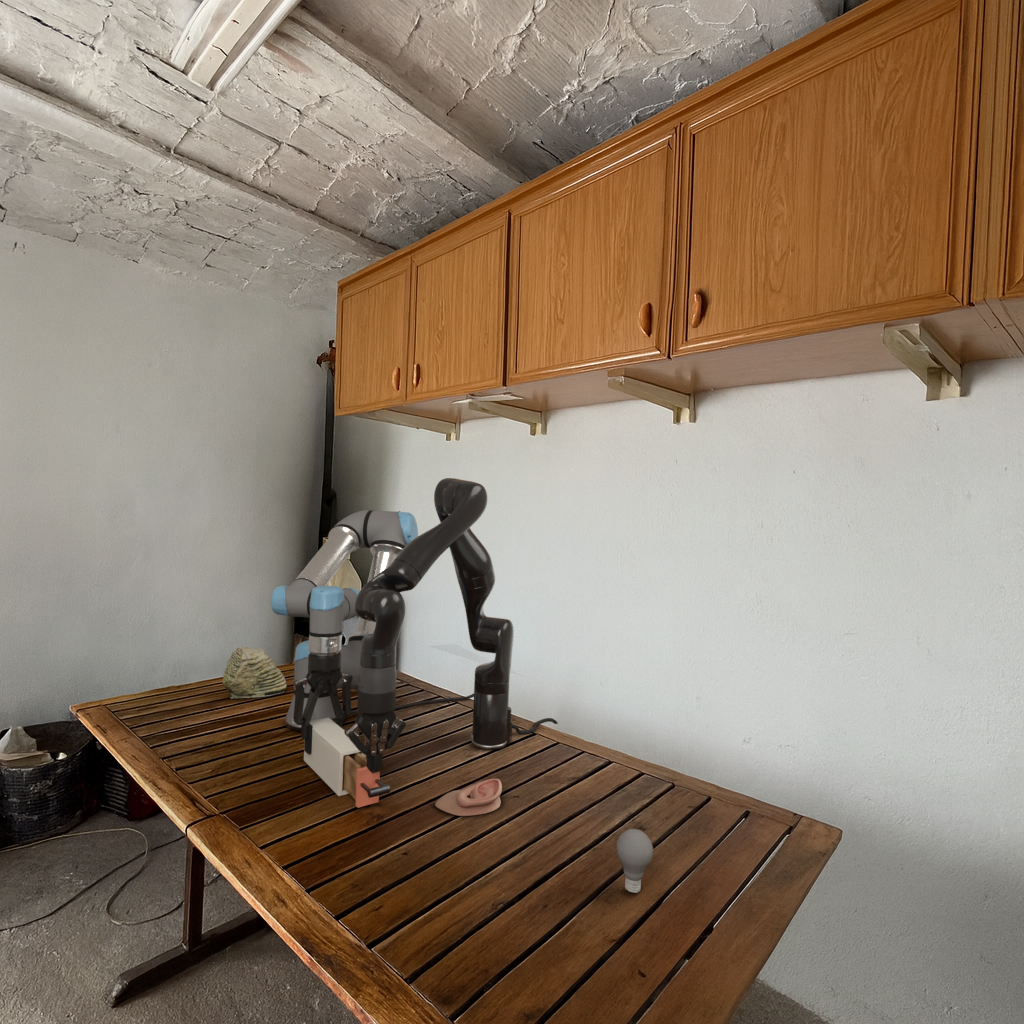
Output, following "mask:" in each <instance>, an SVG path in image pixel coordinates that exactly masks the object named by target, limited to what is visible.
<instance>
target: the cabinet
mask: <svg viewBox="0 0 1024 1024" xmlns="http://www.w3.org/2000/svg"><path fill="white" fill-rule="evenodd" d="M310 724H311V725H312V726H313V728H312V754H307V753H306V752H305V751H304V750H303V761H304V762H305V763H306V764H307V766H308V767H310V768H311V770H312V771H314V773H316V775H318V777H319V778H320V779H321V780H322V781H323V782H324V783H325V784H326V785H327V786H328V787H329V788H330V789H331V790H332V791H333V792H334V793H335V795H336V796H338V797H342V796H345V795H350V794H349V793H348V792H347V791H346V790H345V789H344V788H343V787H342V781H343V756H344V755H349V754H353V753H358V752H359V753H360V754H361V755H363V756H364V757H365V758H366V754H363V753H362V752H360V751H359V750H358V749H357V748H356V746H355V745H354V744H353V743H352V742H351V741H350V739H349V738H348V737H347V736H346V735H345V733H344V731H345V730H346V729H342V728H341V727H340V726H338V725H337V724H336V723H335V722H333V721H332V720H331V719H330V718H324V719H318V720H313V721H310ZM304 745H305V740H304V742H303V746H304Z"/></svg>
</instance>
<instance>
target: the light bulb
mask: <svg viewBox="0 0 1024 1024" xmlns="http://www.w3.org/2000/svg"><path fill="white" fill-rule="evenodd" d="M615 849H616V854H617V857H618V859H619V861H620V863H621V865H622V867H623V873H624V874H623V875H624V876H625V878H624V888H625V890H627V891H628V892H630V893H634V894H635V893H639V892H640V891H641V889H642V887H641V886H642V879H643V877H644V875H645V871H646V868H647V867H648V866H649V864H650V863H651V861H652V859H653V855H654V847H653V843H652V841H651V838H649V836H648V835H647V834H646V833H645V832H643V831H642V830H641V829H636V828H629V829H627V830H625V831H623V832H622V833H621V834H620V835H619V837H618V839H617V841H616V847H615Z"/></svg>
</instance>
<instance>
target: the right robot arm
mask: <svg viewBox="0 0 1024 1024" xmlns="http://www.w3.org/2000/svg"><path fill="white" fill-rule="evenodd" d="M433 502H434V503H433V504H434V509H435V511H436V514H437V517H438V521H439V524H436V525H435V526H434V527H432V528H430V529H429V530H427V531H425V532H423V533H421V534H420V535H418V537H416V538H415V539H413V540H412V541H411V542H409V543H408V544H407V545H406V546H405V547H404V548H403V549H402V551H401V552H400V553H399V554H398V556H397V557H396V558H395V559H394V561H393V562H392V563H391V565H390V566H389V567H388V568H386V569H385V570H383V571H382V572H380V573H379V574H378V575H377V576H375V577H374V578H373V579H372V580H370V581H369V582H368V581H367V582H368V583H365V584H364V585H363V587H361V589H360V590H359V593H358V595H357V597H356V600H355V611H356V613H357V615H356V616H357V617H360V618H362V619H364V620H367V621H372V622H376V625H375V630H374V633H371V634H368V635H366V636H364V637H363V639H362V641H361V653H360V670H359V677H358V690H357V708H356V709H357V711H358V714H356V718H355V720H354V724H353V725H352V726H351V727H350V728H346V729H344V730H345V731H344V733H345V735H346V736H347V737H348V738H349V739H350V741H351V742H352V743H353V744H354V745H355V746H356V748H357V749H358V750H359V751H360V752H362V753H363V754H365V755H366V759H367V765H366V766H367V769H369V771H370V772H371V773H376V772H380V773H381V769H382V768H383V762H384V761H383V760H384V759H383V757H384V752H385V751H386V750H391V749H392V748H393V746H394V745H395V744H396V741H397V740H398V739H399V738H400V735H401V734H402V732H403V731H404V730H405V728H406V726H407V723H406V722H405V720H402V719H401V718H398V716H397V712H396V710H395V707H396V705H397V704H396V702H397V700H396V699H397V664H396V663H397V645H398V644H397V643H398V640H399V638H400V633H401V631H402V627H403V624H404V621H405V616H406V602H405V599H404V597H403V595H402V592H403V593H404V592H408V591H413V590H414V589H415V588H416V587H417V586H418V584H419V583H420V582H421V581H422V580H423V578H424V577H425V576H426V574H427V573H428V572H429V570H430V569H431V568H432V566H433V565H435V563H436V561H437V560H438V559H439V558H440V557H441V555H443V554H444V553H445V552H446V551H447V550H448V549H449V551H450V555H451V558H452V562H453V565H454V566H453V567H454V571H455V575H456V579H457V582H458V587H459V590H460V593H461V597H462V602H463V605H464V611H465V616H466V622H467V629H468V635H469V636H468V637H469V640H470V644H471V647H472V648H473V649H474V650H475V651H477V652H481V653H487V654H488V653H489V654H494V655H495V656H494V660H493V661H490V662H485V663H481V664H479V665H477V666H476V667H475V669H474V683H473V694H474V697H473V704H472V705H473V706H472V707H473V708H472V731H471V732H470V737H471V745H472V746H473V747H476V748H478V749H481V750H489V751H491V750H493V751H494V750H500V749H503V748H505V747H507V746H508V745H510V744H511V734H513V729H514V730H515V732H516V733H517V734H519V735H528V734H531V733H534V732H536V731H537V730H538V726H539V725H542V724H544V723H549V722H550V723H553V724H554V725H558V724H559V722H558V721H557V720H556V719H554V718H553V717H545V718H542V719H539V720H537V721H535V722H534V723H533V725H532V727H531V728H529V729H520V728H519V726H518V725H516V724H513V722H512V707H510V706H509V704H510V703H509V700H510V679H511V668H512V660H513V659H512V658H513V647H514V637H515V633H514V631H515V630H514V629H515V627H514V624H513V622H512V621H511V620H510V619H507V618H500V617H493V616H492V617H491V616H487V615H486V614H485V611H484V605H485V604H486V601H487V600H488V598H489V596H490V594H491V593H492V591H493V589H494V586H495V583H496V575H495V570H494V565H493V561H492V558H491V555H490V553H489V551H488V549H486V547H485V546H484V545H483V543H482V542H481V541H480V539H479V538H478V537H477V536H476V534H475V533H474V532H473V530H472V529H471V527H472V526H473V525H474V524H475V523H477V522H478V520H480V518H481V517H482V516H483V515H484V512H485V510H486V508H487V505H488V493H487V489H486V488H485V486H483V484H482V483H479V482H476V481H471V480H465V479H460V478H453V477H446V478H442V479H440V480H439V481H438V482H437V484H436V485H435V488H434V493H433ZM360 732H361V734H362V735H363V736H364V741H365V744H364V743H363V741H362V740H361V739H360V738H359V737H360Z"/></svg>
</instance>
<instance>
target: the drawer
mask: <svg viewBox="0 0 1024 1024" xmlns="http://www.w3.org/2000/svg"><path fill="white" fill-rule="evenodd" d="M366 765H367V757H366V756H365V757H364V756H363V755H361V754H360V753H359V752H358V753H353V754H349V755H344V756H343V781H342V787H343V788H344V789H345V790H346V791H347V792H348V793H349V794H348V795H349V796H351V798H353V799H354V801H355V807H356V808H357V809H358V808H362V807H365V806H368V805H372V804H377V803H379V801H380V796H382V795H386V794H389V793H390V792H391V786H390V784H389V783H387V784H385V783H383V781H381V780H380V779H381V778H380V775H381V771H380V772H376V773H371V772H370V771H369V769H367V766H366Z"/></svg>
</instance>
